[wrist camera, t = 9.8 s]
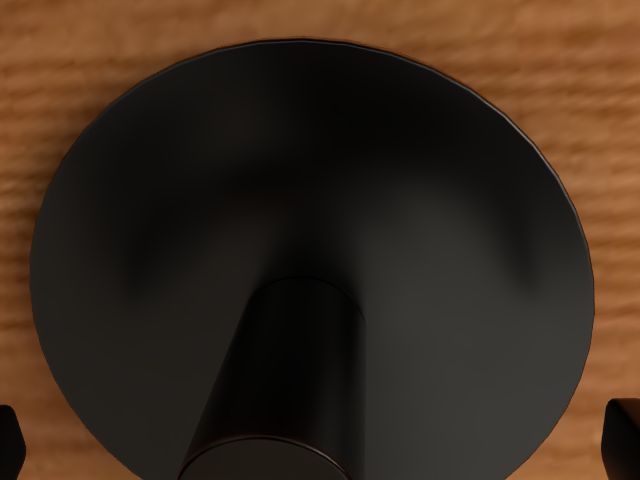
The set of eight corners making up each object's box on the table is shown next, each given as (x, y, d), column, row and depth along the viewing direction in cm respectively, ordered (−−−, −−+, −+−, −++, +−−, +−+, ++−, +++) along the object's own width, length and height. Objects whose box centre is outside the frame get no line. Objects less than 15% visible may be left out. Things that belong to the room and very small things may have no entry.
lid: (35, 431, 14) (-141, 662, 9) (87, -46, 10) (-182, -82, 5) (460, 546, 14) (506, 828, 10) (680, 134, 10) (956, 261, 5)
